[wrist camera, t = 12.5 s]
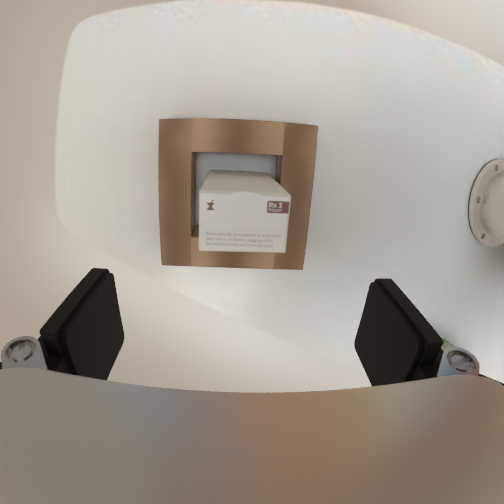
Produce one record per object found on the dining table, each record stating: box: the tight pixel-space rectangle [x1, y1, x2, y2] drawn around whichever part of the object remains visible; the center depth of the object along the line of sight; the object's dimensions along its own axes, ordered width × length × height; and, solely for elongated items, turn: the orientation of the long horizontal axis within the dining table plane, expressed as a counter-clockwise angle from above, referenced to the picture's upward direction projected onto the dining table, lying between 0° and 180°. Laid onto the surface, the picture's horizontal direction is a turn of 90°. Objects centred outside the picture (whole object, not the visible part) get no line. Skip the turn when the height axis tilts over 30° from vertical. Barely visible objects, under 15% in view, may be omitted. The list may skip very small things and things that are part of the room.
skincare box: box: [198, 170, 291, 253], centre depth 25 cm, size 6×4×12 cm
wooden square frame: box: [159, 119, 318, 270], centre depth 29 cm, size 14×14×4 cm
